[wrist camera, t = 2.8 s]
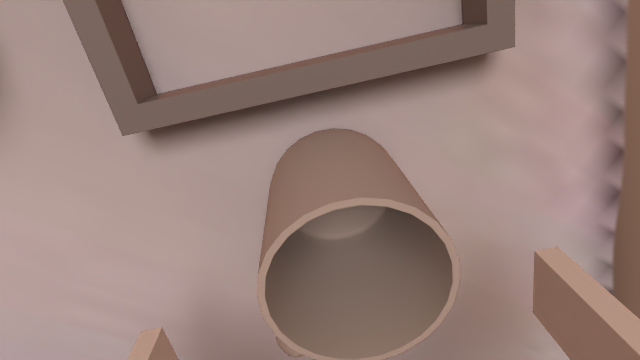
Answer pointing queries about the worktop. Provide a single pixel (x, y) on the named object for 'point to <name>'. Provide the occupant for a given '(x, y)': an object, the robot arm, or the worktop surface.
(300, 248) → the cup
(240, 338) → the worktop surface
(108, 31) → the tray
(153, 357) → the robot arm
